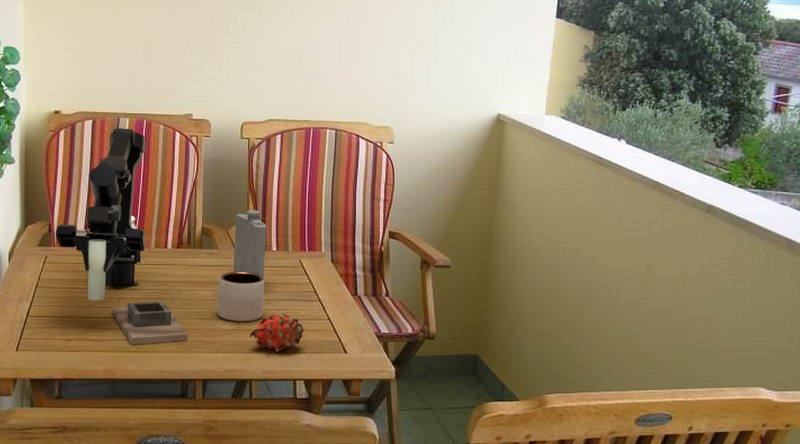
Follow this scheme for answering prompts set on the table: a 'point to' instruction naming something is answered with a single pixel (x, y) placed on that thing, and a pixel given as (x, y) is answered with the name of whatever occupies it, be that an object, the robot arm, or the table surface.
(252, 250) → the hip flask
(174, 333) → the keeper
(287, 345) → the dragon fruit
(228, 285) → the planter
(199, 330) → the table surface
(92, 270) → the pale green peg
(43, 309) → the table surface
